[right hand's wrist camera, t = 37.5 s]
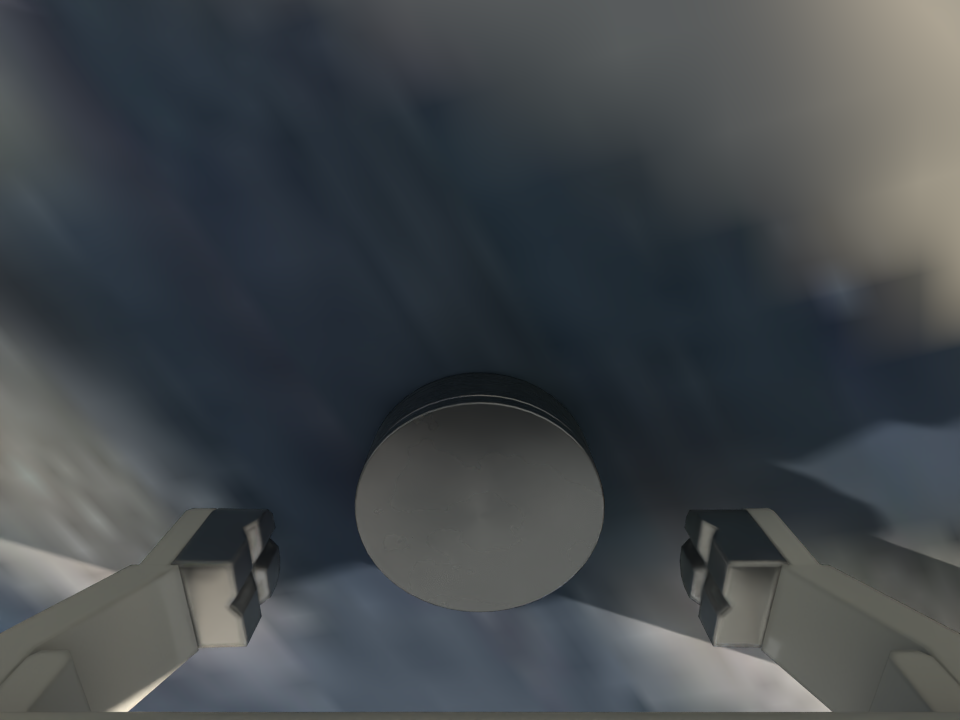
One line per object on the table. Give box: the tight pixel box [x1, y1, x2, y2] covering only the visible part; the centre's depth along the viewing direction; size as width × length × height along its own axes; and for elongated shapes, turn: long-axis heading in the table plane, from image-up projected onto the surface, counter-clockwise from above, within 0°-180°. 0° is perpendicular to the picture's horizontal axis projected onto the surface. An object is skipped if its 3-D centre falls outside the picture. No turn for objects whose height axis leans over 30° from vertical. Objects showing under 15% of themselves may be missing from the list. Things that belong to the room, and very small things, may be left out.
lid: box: [355, 373, 605, 612], centre depth 12 cm, size 5×5×2 cm
